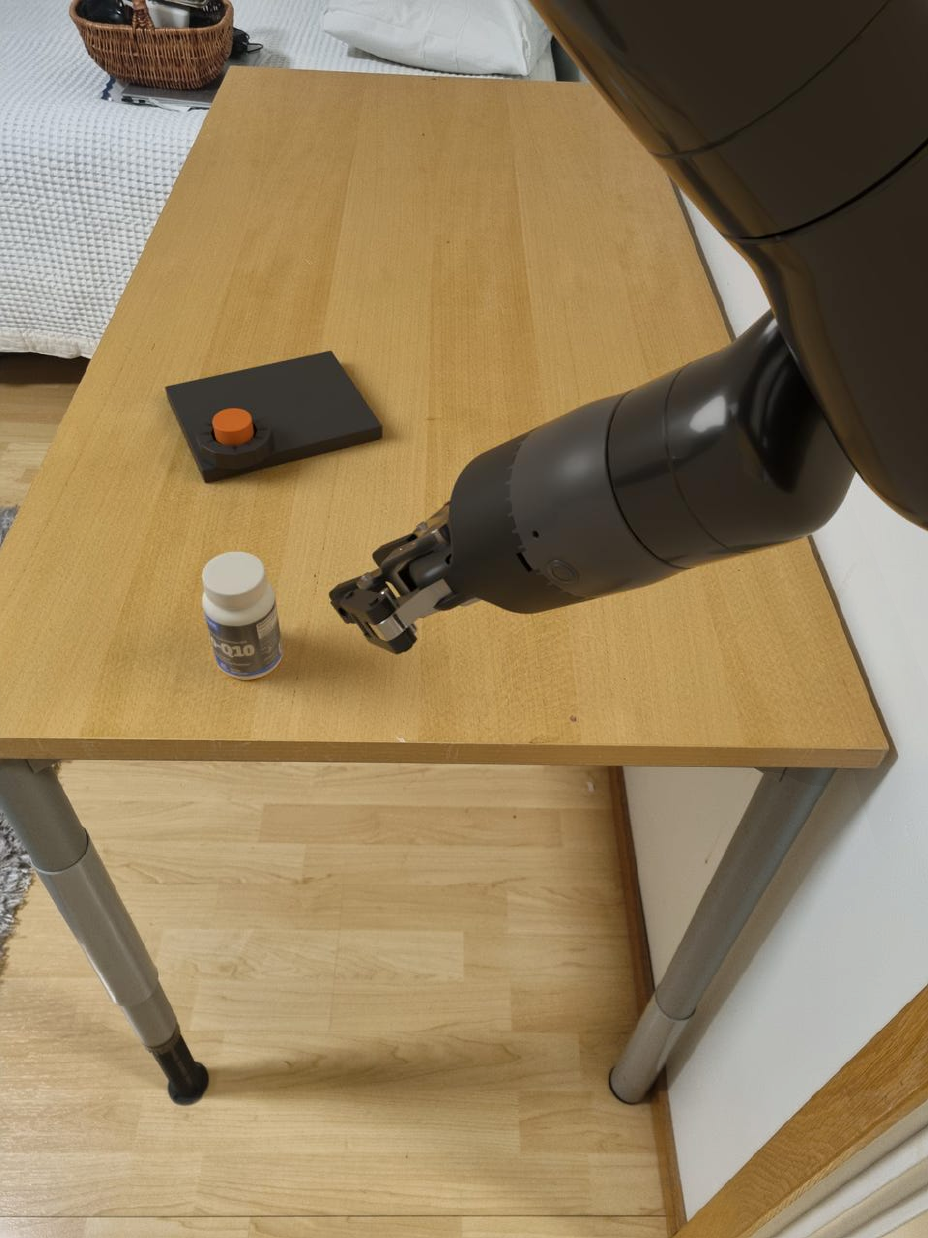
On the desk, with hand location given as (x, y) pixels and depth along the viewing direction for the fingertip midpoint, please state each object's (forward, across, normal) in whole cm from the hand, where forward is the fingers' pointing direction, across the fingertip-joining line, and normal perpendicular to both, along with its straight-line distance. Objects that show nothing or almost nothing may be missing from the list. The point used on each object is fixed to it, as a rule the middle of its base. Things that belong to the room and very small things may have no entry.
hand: (364, 585), depth 51 cm
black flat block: (+30, -22, -10) cm, 38 cm away
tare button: (+27, -16, -11) cm, 33 cm away
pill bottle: (+18, 0, +2) cm, 18 cm away
